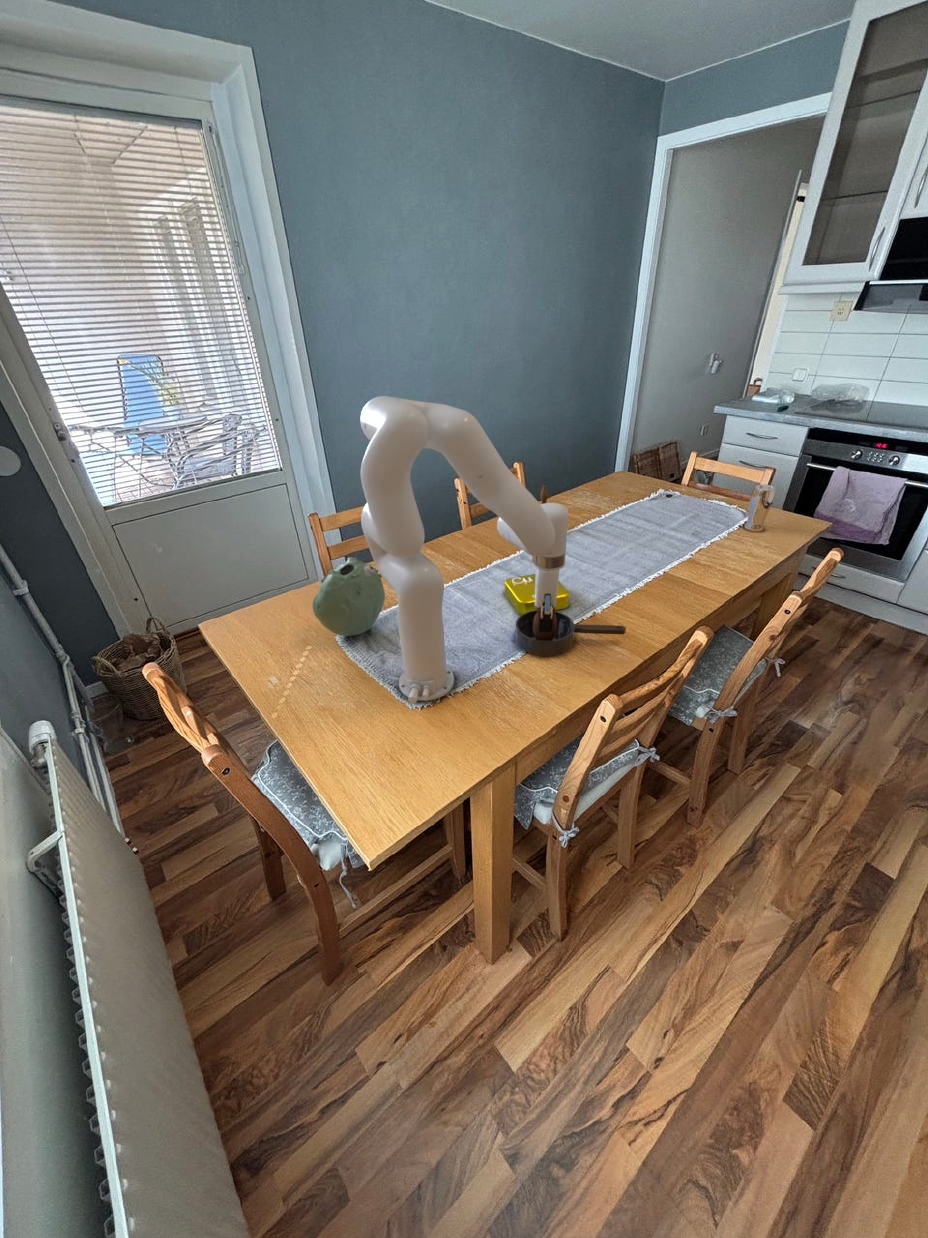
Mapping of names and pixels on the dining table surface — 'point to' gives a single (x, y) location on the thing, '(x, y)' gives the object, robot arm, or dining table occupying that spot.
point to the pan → (542, 647)
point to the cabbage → (350, 598)
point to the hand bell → (544, 494)
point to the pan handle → (600, 629)
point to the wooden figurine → (538, 635)
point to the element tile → (530, 594)
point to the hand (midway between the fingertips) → (545, 622)
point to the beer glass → (759, 507)
